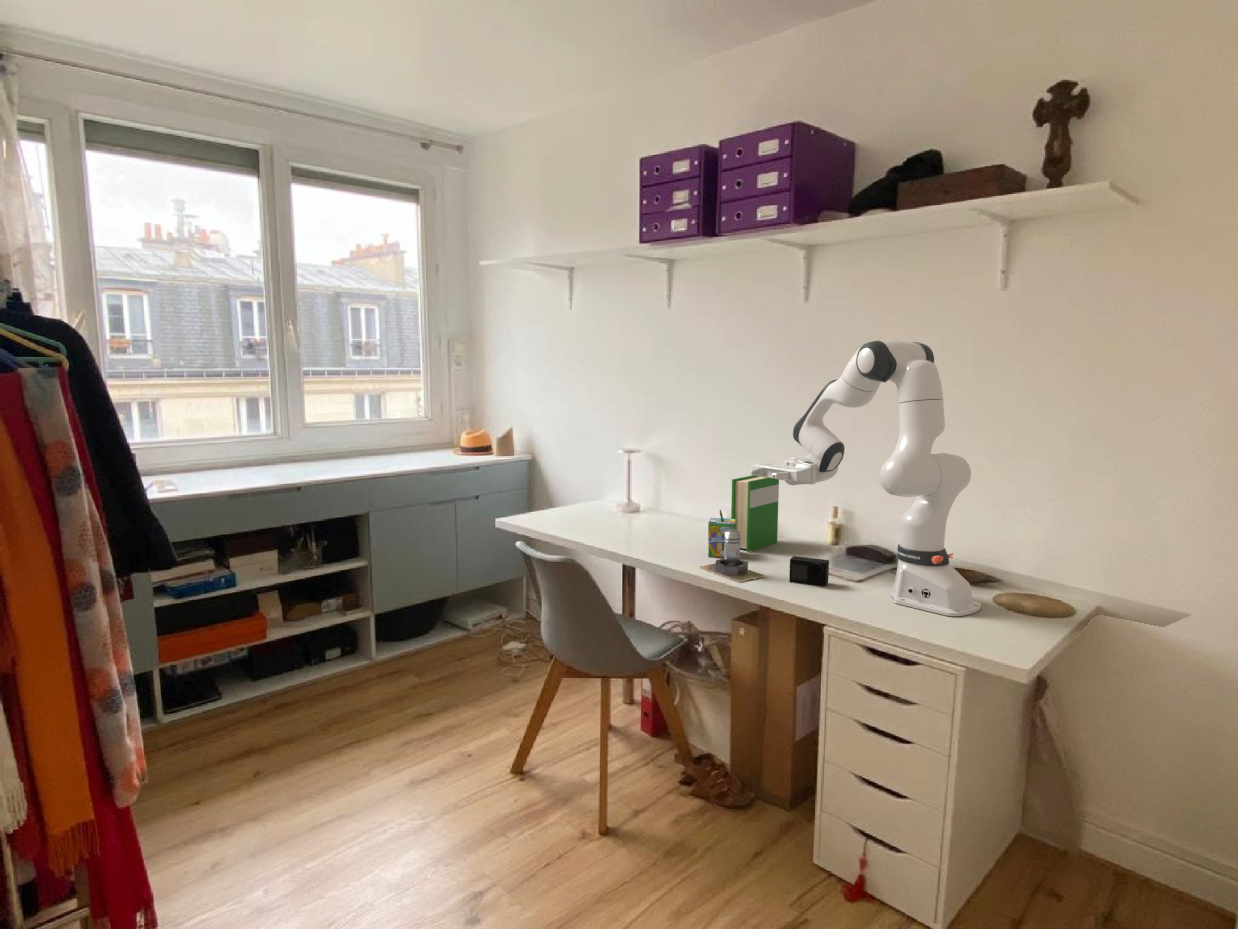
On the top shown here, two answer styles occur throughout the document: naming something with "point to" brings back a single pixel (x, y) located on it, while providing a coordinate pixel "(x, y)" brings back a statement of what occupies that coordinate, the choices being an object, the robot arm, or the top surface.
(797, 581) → the digital camera
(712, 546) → the chalk box
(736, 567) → the ring board
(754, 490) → the hardback book
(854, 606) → the top surface
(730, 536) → the piston
